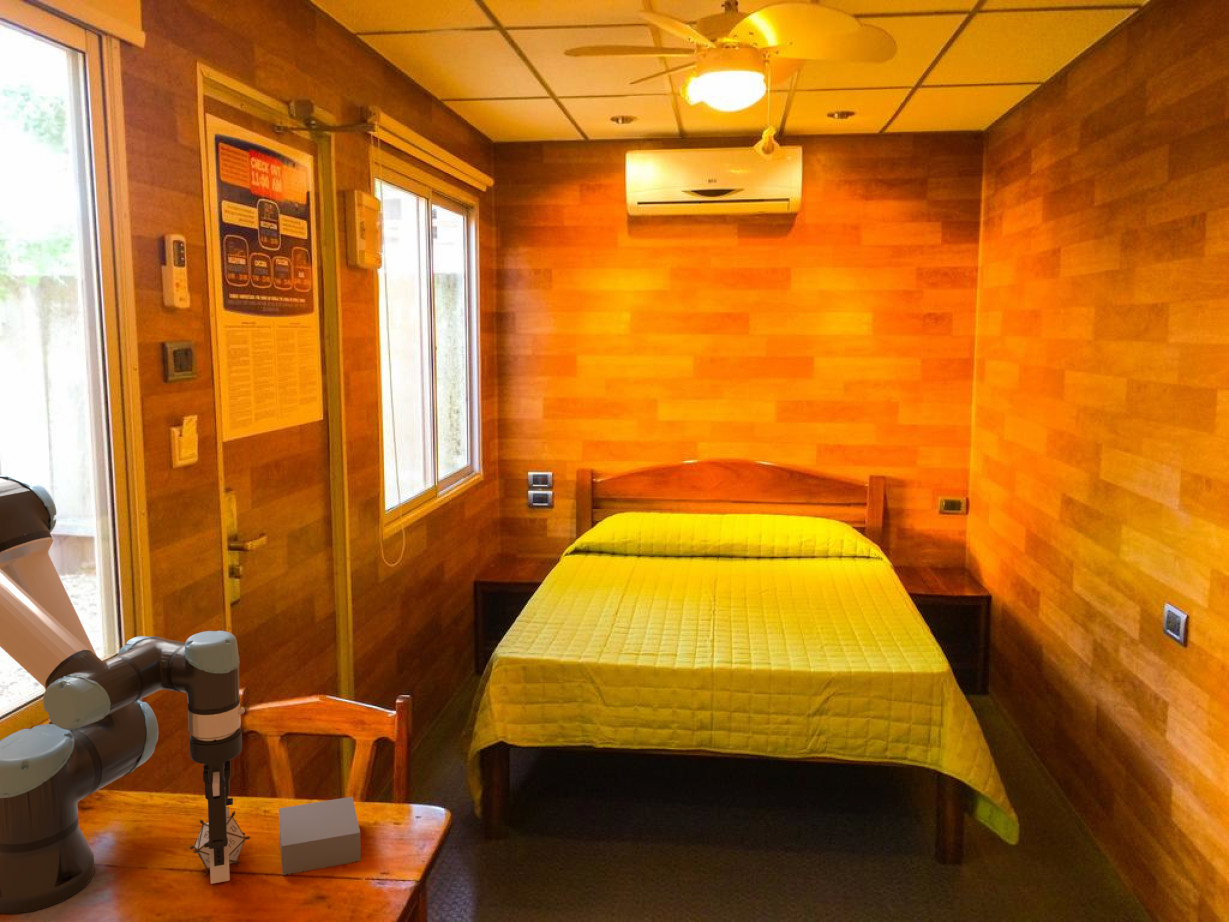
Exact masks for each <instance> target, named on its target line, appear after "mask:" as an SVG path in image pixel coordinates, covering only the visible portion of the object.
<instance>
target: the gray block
mask: <svg viewBox="0 0 1229 922" xmlns="http://www.w3.org/2000/svg"><path fill="white" fill-rule="evenodd" d="M357 815H358V814H357V812H356V806H355V802H354V797H353V796H348V797H340V798H335V799H329V800H322V801H318V802H317V801H316V802H311V803H304V804H296V805H292V806H285V807H279V808H278V817H279V818H278V825H279V841H280V842H279V843H280V857H281V874H282V876H287V874H288V875H292V874H291V873H293V874H298V873H303V872H302V871H304V872H308V870H309V871H315V870H319V869H326V868H331V867H336V866H342V865H346V864H352V863H351V862H353V863H356V862H355V861H358V862H361V861H362V857H361V856H362V852H361V851H362V849H361V845H362V844H361V829H360V826H359V821H358V816H357ZM360 860H361V861H360ZM314 869H315V870H314Z"/></svg>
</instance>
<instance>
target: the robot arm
mask: <svg viewBox="0 0 1229 922" xmlns="http://www.w3.org/2000/svg"><path fill="white" fill-rule="evenodd" d="M56 515H57V508H56V504H55V502H54V498H52V496H51V494H50V493H49V491H48V490H47V489H46V488H45V487H44V486H43V485H42V484H41V483H40V482H39V481H37V480H35V479H33V478H31V477H28V476H26V475H21V474H9V475H0V649H2V650H3V651H4V652H5V653H7V655H9V656H10V658H12V659H13V660H14V661H15V662H16V663H17V664H19V666H20V667H22V668H23V669H24V670H25V671H26V672H27V673H28V674H29V675H31V677H33V678H34V679H35V680H36V681H37V682H38V683H39V685H41V686H43V688H44V690H45V691H44V693H43V697H42V705H43V709H44V711H45V712H47V714H48V719H47V722H48V723H45V724H39V725H38V724H37V725H34V726H33V727H32V728H27V727H26V728H23V729H20V730H18V731H15V732H13V733H10V734H9V735H7V736H6V737H4V738H2V739H0V914H10V915H11V914H23V913H28V912H33V911H37V910H41V909H46V908H48V907H51V906H53V905H57V904H59V903H61V902H63V901H66V900H67V899H69V898H71V897H72V896H74V895H76V894H77V893H79V892H80V891H82V889H84V888H85V887H86V886H87V885H88V884H89V883H90V882H91V880H92V879H93V877H94V874H95V873H96V872H95V871H96V869H95V868H96V867H95V865H96V864H95V855H94V852H93V851H92V849H91V846H90V845H89V842H88V841H87V839H86V837H85V835H84V832H83V831H82V829H81V827H80V824H79V809H78V807H79V805H78V803H79V802H80V801H81V800H83V799H85V798H87V797H88V796H90V795H92V794H93V793H95V792H98V791H99V790H101V789H102V788H104V787H106V786H107V785H109V784H110V785H111V784H112V783H113V782H114V781H116V780H118V779H120V778H122V777H125V776H127V775H128V774H131V773H133V772H134V771H135V770H136V769H137V768H138V767H140V766H142V765H143V764H144V763H146V762H147V761H148V760H149V759H150V758H151V757H152V755H153V754H154V752H155V749H156V745H157V743H158V740H159V724H158V720H157V717H156V714H155V712H154V710H153V708H152V707H151V706H150V704H149V703H148V702H147V701H143V699H144V698H146V697H148V696H150V695H152V694H154V693H156V692H158V691H162V690H165V691H171V692H172V691H173V692H177V693H178V692H179V693H186V698H187V723H188V724H187V726H188V733H189V738H188V739H189V740H188V742H189V756H190V759H191V760H192V761H193V762H194V763H197V764H202V765H203V771H202V781H203V782H204V797H205V799H206V800H207V816H208V820H207V822H208V823H209V843H205V844H204V848H206V847H209V856H210V869H209V873H210V874H209V875H210V876H209V877H210V884H211V885H212V884H216V883H222V882H228V881H230V880H231V878H230V864H229V847H228V838H227V820H226V817H230V807H229V806H233V805H234V797H230V798H229V795H230V781H231V780H230V779H231V775H232V773H231V772H232V771H231V770H232V767H231V766H232V765H231V763H232V762H231V760H233V759H235V758H237V757H238V755H240V754H241V752H242V750H243V739H242V738H243V736H242V729H241V714H244V713H245V711H246V709H245V707H244V706H241V703H240V702H241V697H240V696H241V695H240V663H241V659H240V655H239V648H238V647H239V646H238V640H237V638H236V636H235V635H234V634H233V633H231V632H230V631H229V632H228V631H226V630H217V631H216V630H214V631H213V630H206V631H201V632H198V633H195V634H193V635H191V636H189V637H188V638H187V639H186V641H185V642H184V641H179V640H174V639H168V638H163V637H160V636H154V635H153V636H145V635H144V636H143V635H139V636H135V637H132V638H131V639H129V640H127V641H126V643H124V645H123V646H122V647H120V649H119V650H118V652H117V655H116V656H113V657H110V658H107V659H105V660H102V659H101V658H100V657H99V656H98V655H97V653H96V651H95V649H94V647H93V645H92V643H91V641H90V639H89V637H88V634H87V632H86V630H85V628H84V626H83V624H82V622H81V620H80V617H79V615H78V613H77V611H76V609H75V607H74V605H73V603H72V601H71V598H70V597H69V596H70V595H69V594H68V592H67V590H66V588H65V585H64V583H63V582H62V580H61V576H59V573H58V571H57V569H56V567H55V564H54V563H53V560H52V558H51V557H50V553H49V551H50V549H51V546H52V544H53V542H54V538H53V536H52V534H51V533H52V532H53V530H54V529H55V527H56V524H57V518H56V517H55V516H56ZM240 706H241V707H240Z"/></svg>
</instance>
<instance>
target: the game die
mask: <svg viewBox="0 0 1229 922" xmlns="http://www.w3.org/2000/svg"><path fill="white" fill-rule="evenodd" d="M235 815H236V810H235V811H233V812H232V813H231V815H229V817H226V820H227V838H228V847H229V865H230V864H235V863H236V866H241V862H240V861H239V857H240V855H241V852H242V849H243V847H244V845H245V842H246V841H247V840H250V839H251V838H252V837H251V836H250V835H248V836H245V835H246V833H245V832H244V831H243V830H241V828H240V826H239V824H238V823H237V821H236V819H235V818H234V817H235ZM199 823H200V824H201V828H200V829H199V832H198V836H197V838H196V841H195V843H194V845H190V846H189V847H188V849H190V850H193V854H197V855H198V857H199V858H200V860H201V862H202V864H203V865H204V867H205V869H204V871H203V872H204V874H203V875H204V876H206V875H207V874H208V873H209V871H210V856H209V847H206V848H204V844H205V843H209V823H208V821H206V822H204V820H203V819H199Z"/></svg>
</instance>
